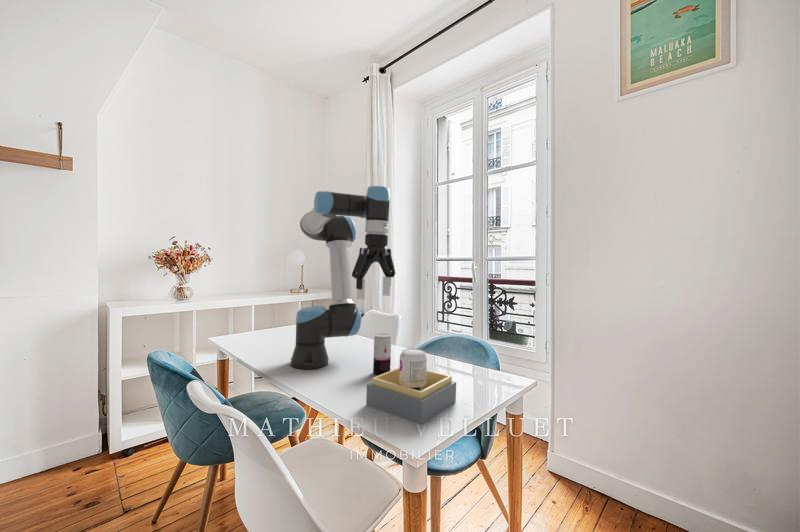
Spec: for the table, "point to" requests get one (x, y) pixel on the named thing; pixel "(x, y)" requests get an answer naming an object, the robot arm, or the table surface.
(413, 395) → the inner crate
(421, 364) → the supplement can
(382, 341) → the beverage can
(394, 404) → the outer crate
